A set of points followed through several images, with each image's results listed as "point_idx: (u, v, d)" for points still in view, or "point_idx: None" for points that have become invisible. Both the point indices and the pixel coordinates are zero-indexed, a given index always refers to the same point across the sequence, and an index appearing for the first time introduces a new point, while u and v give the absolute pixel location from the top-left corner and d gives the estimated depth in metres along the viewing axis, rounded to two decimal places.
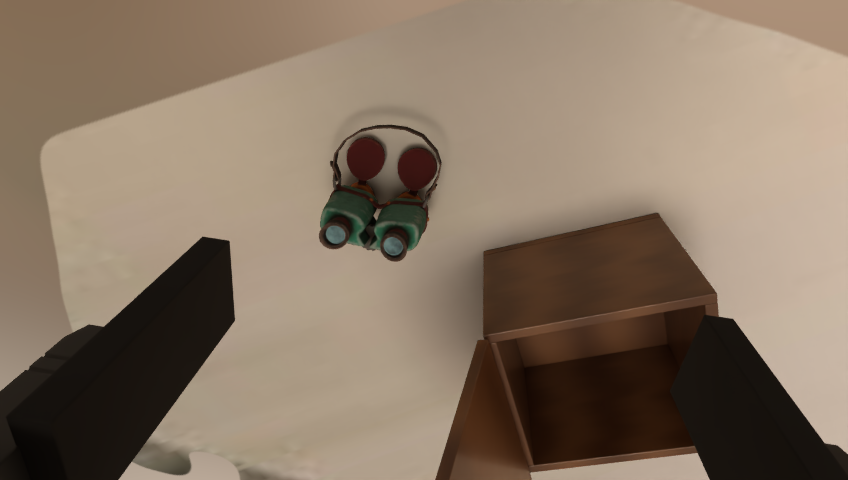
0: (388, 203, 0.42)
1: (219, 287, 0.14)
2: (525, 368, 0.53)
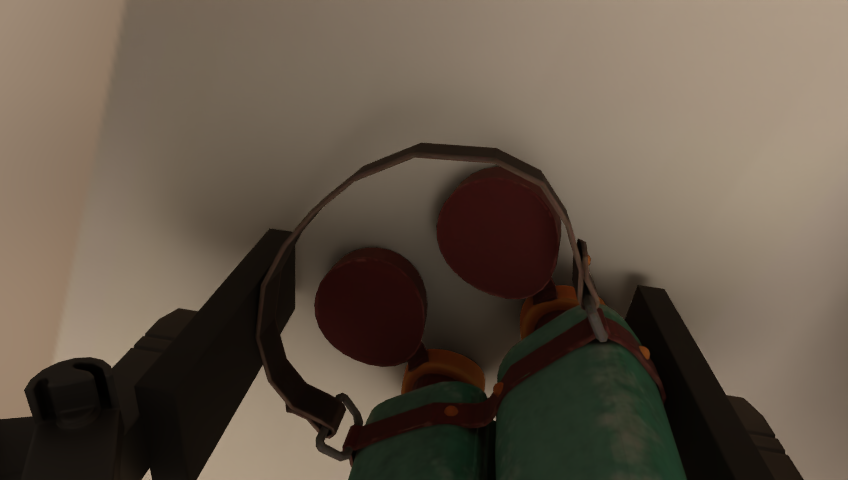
0: (498, 392, 0.13)
1: (286, 276, 0.15)
2: None
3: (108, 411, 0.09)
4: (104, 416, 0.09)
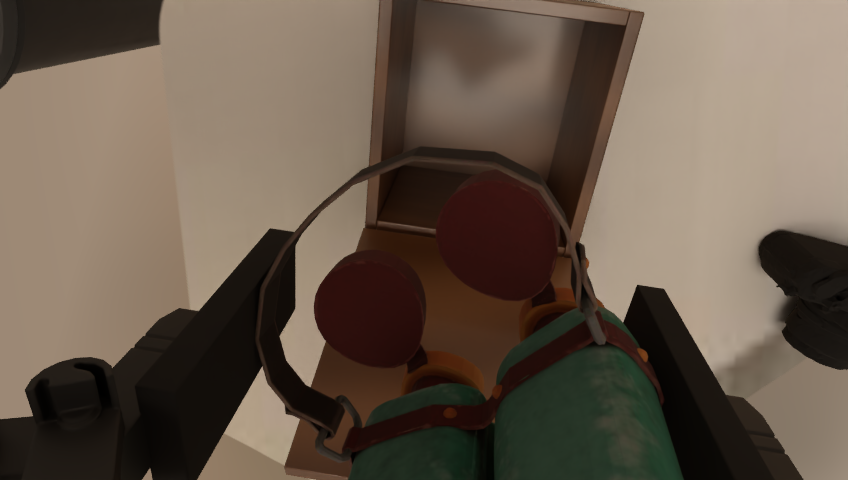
0: (497, 395, 0.13)
1: (286, 276, 0.15)
2: (546, 184, 0.45)
3: (109, 411, 0.09)
4: (105, 416, 0.09)
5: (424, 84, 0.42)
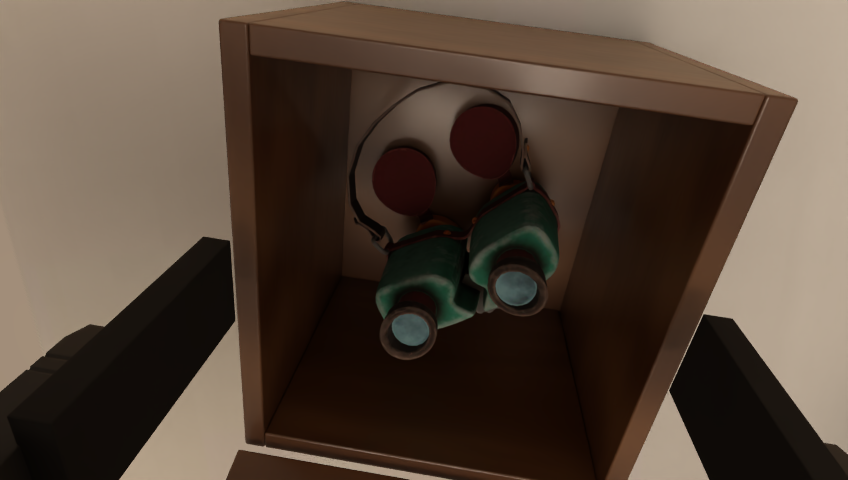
0: (474, 220, 0.23)
1: (220, 287, 0.14)
2: (560, 310, 0.30)
3: None
4: None
5: (370, 163, 0.27)
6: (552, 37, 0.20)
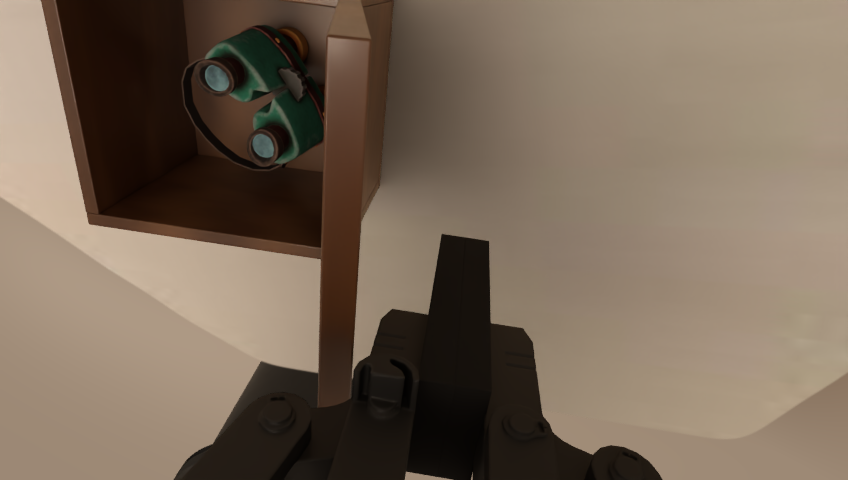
0: None
1: None
2: None
3: (405, 410, 0.09)
4: (402, 414, 0.09)
5: None
6: None
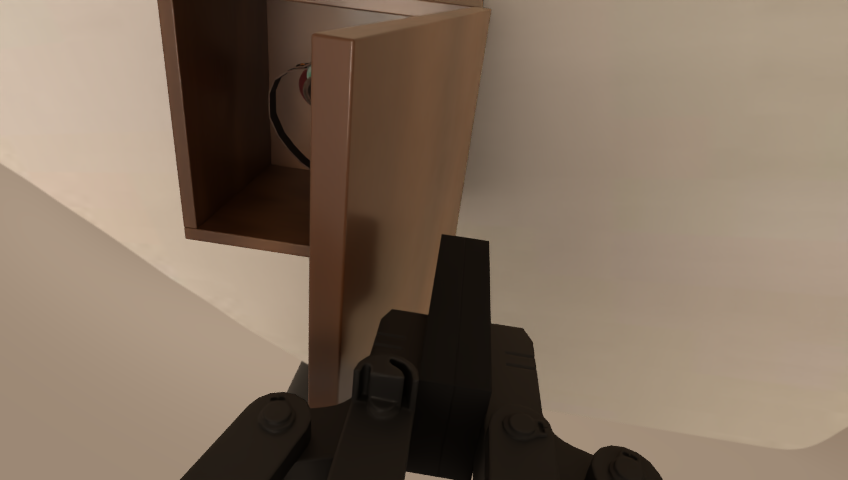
0: None
1: None
2: None
3: (405, 410, 0.09)
4: (402, 414, 0.09)
5: None
6: None
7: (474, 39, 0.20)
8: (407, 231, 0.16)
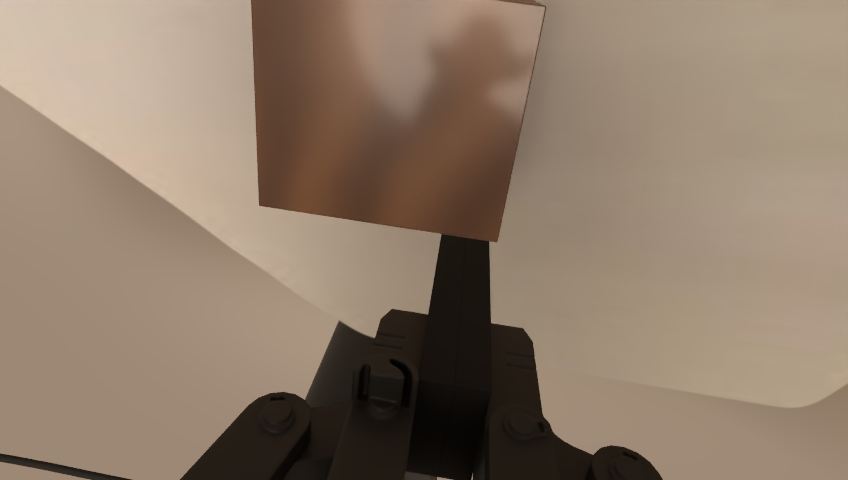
0: None
1: None
2: None
3: (405, 410, 0.09)
4: (402, 414, 0.09)
5: None
6: None
7: (476, 17, 0.28)
8: (336, 88, 0.31)
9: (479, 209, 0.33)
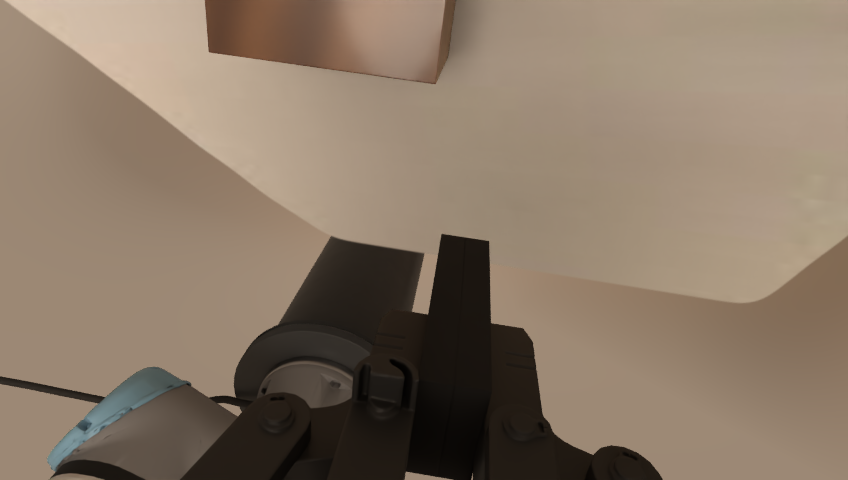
0: None
1: None
2: None
3: (405, 410, 0.09)
4: (402, 414, 0.09)
5: None
6: None
7: None
8: None
9: (416, 48, 0.35)
